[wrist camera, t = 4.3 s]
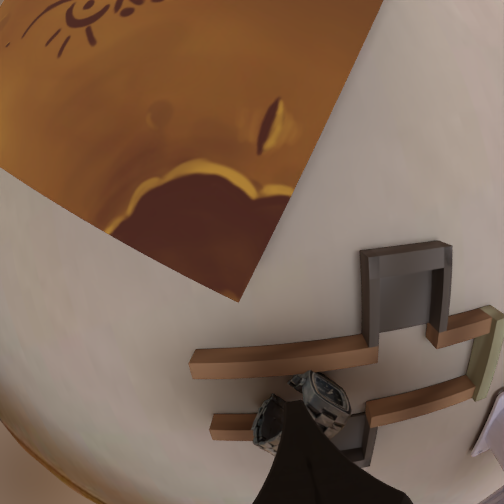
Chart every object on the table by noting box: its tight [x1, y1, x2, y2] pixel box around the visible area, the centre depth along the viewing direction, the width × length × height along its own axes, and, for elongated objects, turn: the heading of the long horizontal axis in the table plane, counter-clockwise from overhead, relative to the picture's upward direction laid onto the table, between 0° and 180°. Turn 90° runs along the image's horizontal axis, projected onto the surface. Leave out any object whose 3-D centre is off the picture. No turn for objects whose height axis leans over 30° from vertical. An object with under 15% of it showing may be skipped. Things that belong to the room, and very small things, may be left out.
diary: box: [0, 0, 383, 303], centre depth 10 cm, size 23×19×6 cm
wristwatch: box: [251, 370, 351, 456], centre depth 13 cm, size 3×5×5 cm, turn 133°
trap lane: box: [188, 241, 504, 468], centre depth 14 cm, size 18×15×2 cm
